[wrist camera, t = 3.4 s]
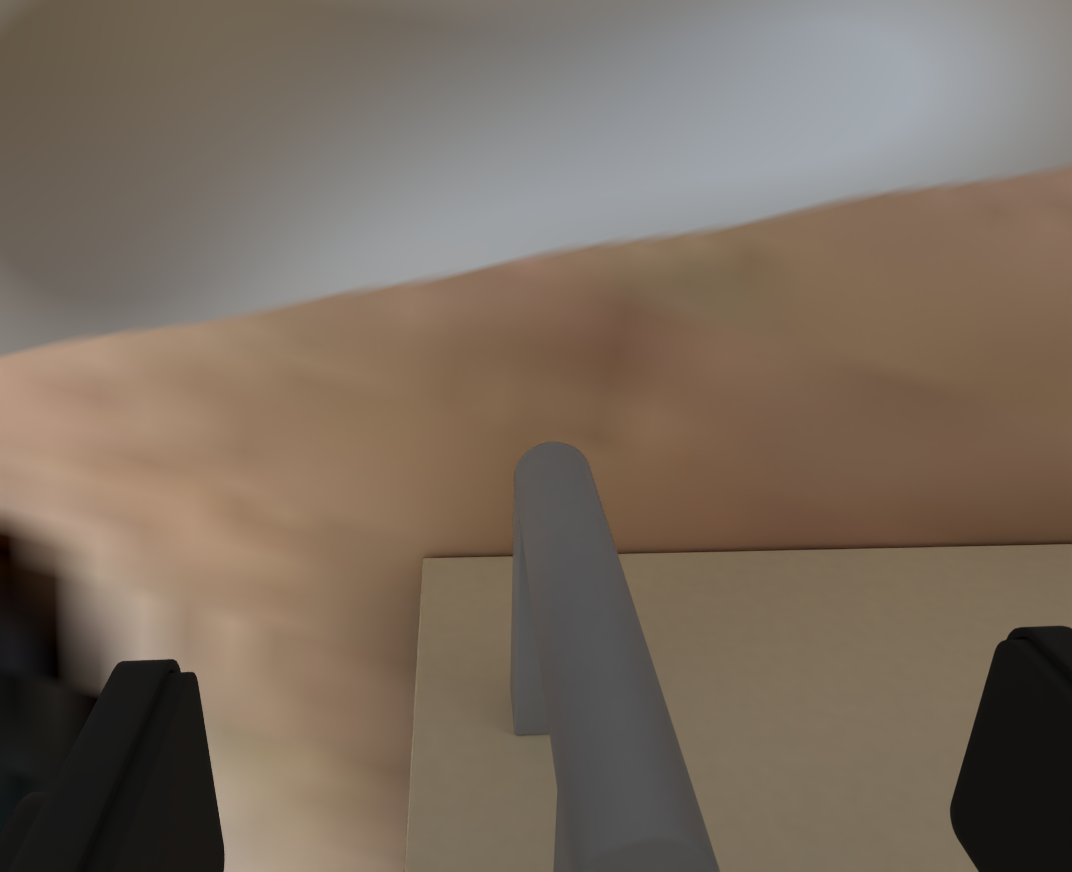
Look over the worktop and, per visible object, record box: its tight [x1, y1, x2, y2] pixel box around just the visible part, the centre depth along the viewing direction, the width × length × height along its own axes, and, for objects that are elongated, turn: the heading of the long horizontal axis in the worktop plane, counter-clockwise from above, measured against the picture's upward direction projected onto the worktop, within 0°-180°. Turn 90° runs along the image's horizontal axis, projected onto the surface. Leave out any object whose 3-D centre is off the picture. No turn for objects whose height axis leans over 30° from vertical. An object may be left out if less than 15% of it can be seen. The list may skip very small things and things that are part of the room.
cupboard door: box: [404, 442, 1072, 872], centre depth 16 cm, size 7×22×22 cm, turn 88°
